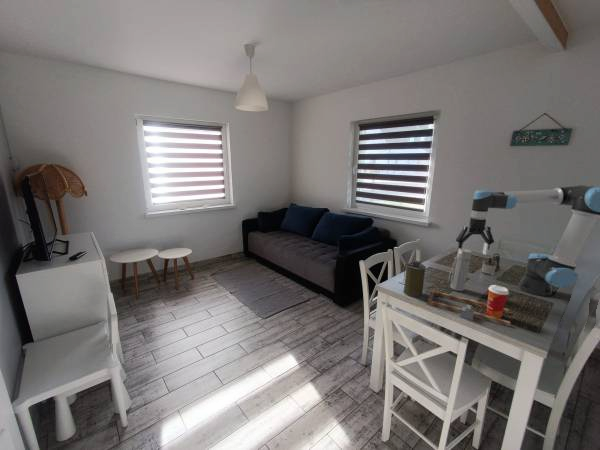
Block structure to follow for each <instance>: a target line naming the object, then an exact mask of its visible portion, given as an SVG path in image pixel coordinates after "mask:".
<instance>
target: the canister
mask: <svg viewBox="0 0 600 450" xmlns="http://www.w3.org/2000/svg"><path fill="white" fill-rule="evenodd" d="M404 269H405V271H404V274H403V278H404V286H403V287H404V288H403V294H405V296H407V297H411V298H421V297H423V295H424V294H423V289H424V281H425V276H426V275H425V274H426V269H427V266H426V265H424V264H423V263H422V261H420V260H415V259H414V260H413V261H410V262H406V263H405V265H404Z"/></svg>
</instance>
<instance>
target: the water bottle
mask: <svg viewBox="0 0 600 450" xmlns="http://www.w3.org/2000/svg"><path fill="white" fill-rule="evenodd" d="M472 253H473V252H472V250H470V249H467V248H463V255H461V254H460V253H459V250H458V251H457V254H456V256H455V257H454V260H453V264H452V267H451V269H450V272H449V274H448V278H450V277H451V279H449V281H450V288H451V289H452V290H453V291H456V292H463V291H465V290H464V289H465V285H466V281H467V277H468V272H469V269H470V264H471V260H472Z"/></svg>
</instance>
